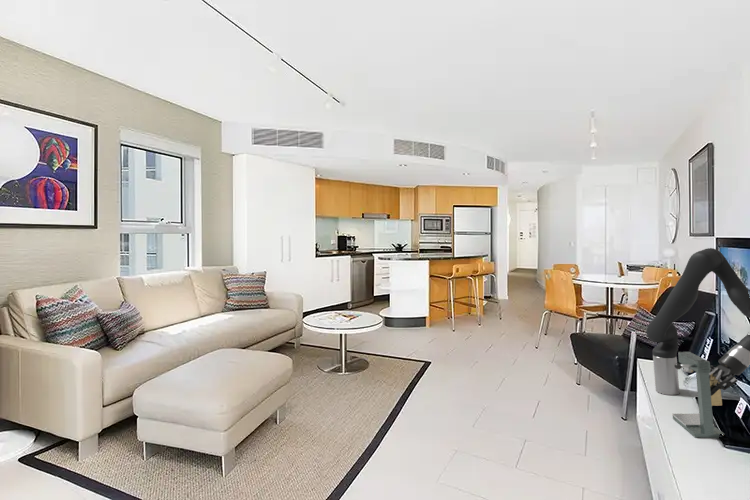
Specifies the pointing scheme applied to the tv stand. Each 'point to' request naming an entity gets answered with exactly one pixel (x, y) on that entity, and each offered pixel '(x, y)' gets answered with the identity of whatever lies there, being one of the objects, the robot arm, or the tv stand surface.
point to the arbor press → (703, 421)
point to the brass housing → (716, 397)
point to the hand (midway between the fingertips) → (704, 391)
